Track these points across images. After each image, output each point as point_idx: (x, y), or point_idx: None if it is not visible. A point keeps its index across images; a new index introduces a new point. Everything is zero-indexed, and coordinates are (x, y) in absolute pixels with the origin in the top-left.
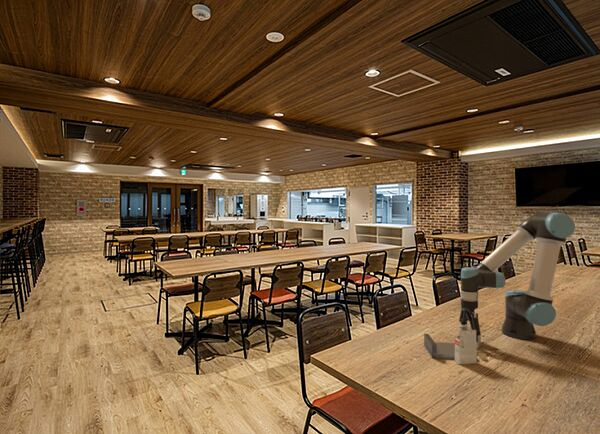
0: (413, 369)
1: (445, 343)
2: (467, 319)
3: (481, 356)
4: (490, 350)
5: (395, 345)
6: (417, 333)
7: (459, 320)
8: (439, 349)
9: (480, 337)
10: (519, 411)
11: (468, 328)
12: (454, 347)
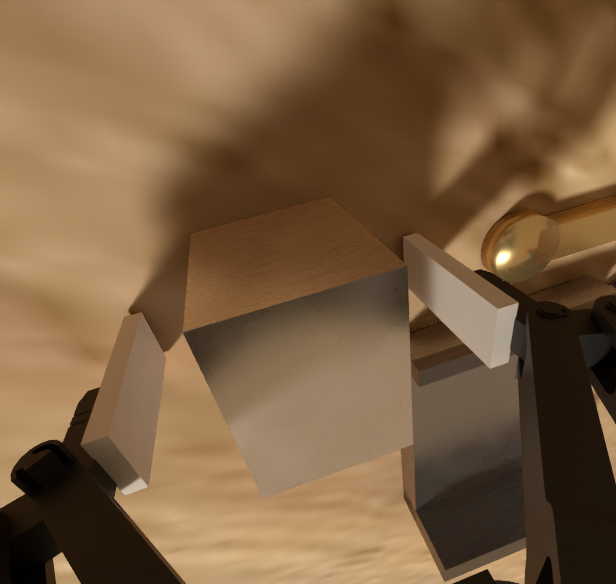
0: (612, 469)
1: (427, 448)
2: (164, 564)
3: (613, 238)
4: (436, 111)
5: (409, 563)
6: (205, 567)
7: (35, 573)
8: (514, 454)
9: (367, 231)
10: None
11: (292, 412)
12: (492, 400)
